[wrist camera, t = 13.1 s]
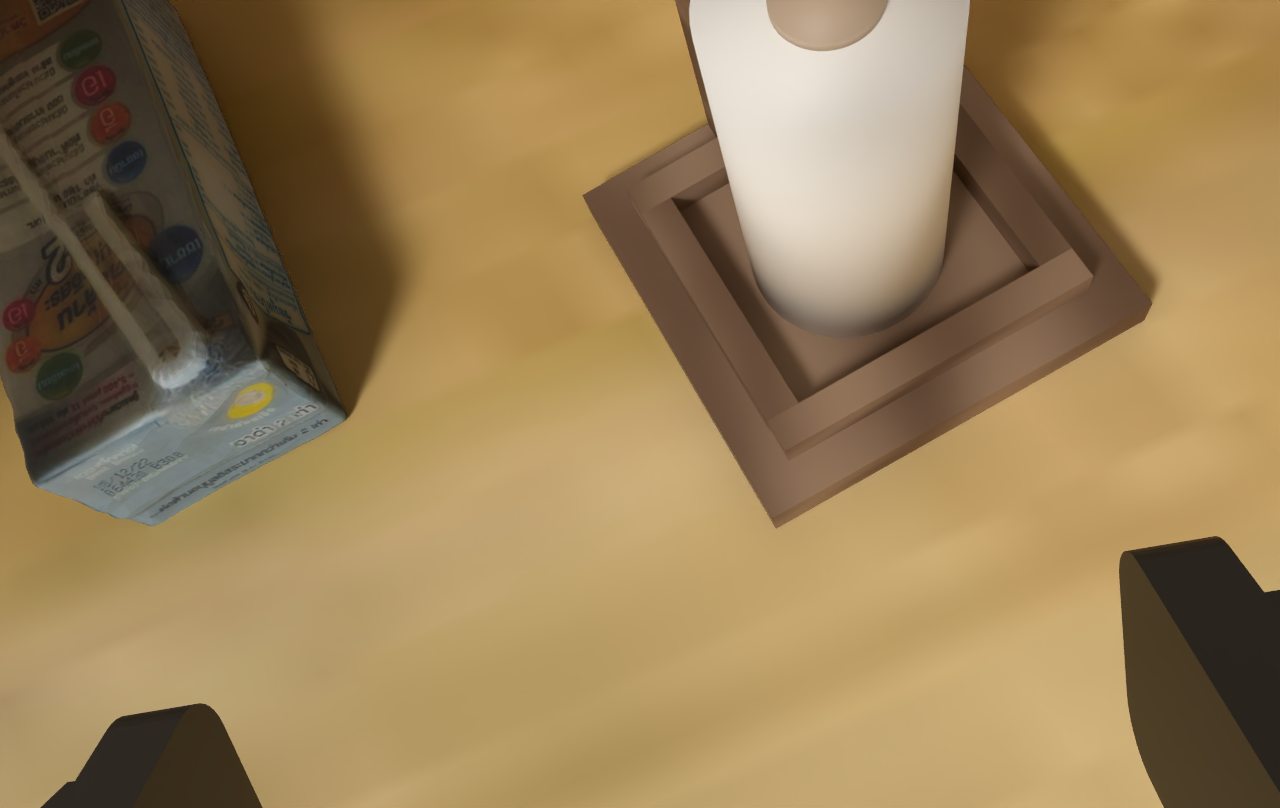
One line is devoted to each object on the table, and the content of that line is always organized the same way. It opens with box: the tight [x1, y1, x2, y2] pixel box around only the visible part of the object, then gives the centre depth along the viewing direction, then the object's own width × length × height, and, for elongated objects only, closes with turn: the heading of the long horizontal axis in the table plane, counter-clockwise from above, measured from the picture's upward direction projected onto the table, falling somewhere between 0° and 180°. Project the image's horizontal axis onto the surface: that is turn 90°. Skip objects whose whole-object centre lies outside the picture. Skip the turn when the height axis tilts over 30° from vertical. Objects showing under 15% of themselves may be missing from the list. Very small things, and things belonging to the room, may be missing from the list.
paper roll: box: [689, 0, 970, 338], centre depth 30 cm, size 6×6×12 cm
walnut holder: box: [583, 0, 1152, 528], centre depth 30 cm, size 12×12×14 cm
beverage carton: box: [0, 0, 347, 526], centre depth 39 cm, size 8×19×7 cm, turn 26°
